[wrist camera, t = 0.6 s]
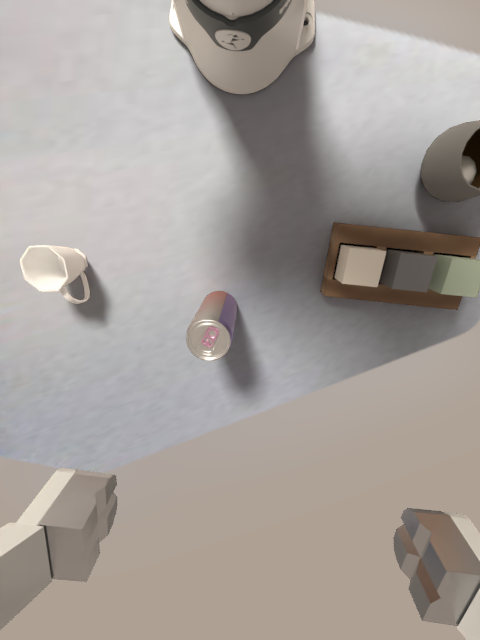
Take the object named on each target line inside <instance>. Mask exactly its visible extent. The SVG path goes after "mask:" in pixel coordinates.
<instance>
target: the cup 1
mask: <svg viewBox="0 0 480 640" xmlns="http://www.w3.org/2000/svg"><path fill="white" fill-rule="evenodd" d="M20 264H21V268H22V272H23V275H24V279H25V280H26V281H27V282H29V283H30V284H31V285H33V286H34V287H35V288H36V289H38V290H39V291H40V292H52V291H61V293H62V294H63V296H64V297H65V298H66V299H67V300H68V301H69V302H71V303H74V304H80V303H83V302H85V301H87V300H88V299H89V297H90V290H89V284H88V280H87V277H86V274H85V273H84V271H85V269H86V268H87V267H88V264H87V258H86V255H85V254H83V253H82V252H81V251H80V250H79V249H72V248H69V247H60V246H29V247H28V248H27V250H26V251H25V253H24V254H23V256H22V257H21V259H20ZM79 274H80V276H81V278H82V281H83V285H84V292H85V298H84V299H83V300H77V299H75V298H73V297H72V296H71V295H70V294H69V292H68V290H67V288H66V286H67V285H68V284H69V283H71V282H72V281H74V280H75V279H76V278H77V277H78V276H79Z"/></svg>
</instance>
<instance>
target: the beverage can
mask: <svg viewBox="0 0 480 640" xmlns="http://www.w3.org/2000/svg"><path fill="white" fill-rule="evenodd" d="M236 315H237V303H236V301H235V299H234V298H233V297H232V296H231V295H230V294H229V293H227V292H224V291H215V292H212V293H210V294H209V295H207V296H206V298H205V299H204V301H203V303H202V304H201V306H200V308H199V310H198V311H197V313H196V315H195V317H194V318H193V320H192V322H191V324H190V325H189V327H188V330H187V337H186V342H187V346H188V348H189V350H190V351H191V353H192V354H193V355H195V356H196V357H198V358H200V359H202V360H207V361H212V360H217V359H219V358H221V357H223V356H224V355H225V354H226V353H227V351H228V350H229V348H230V347H231V344H232V340H233V334H234V327H235V321H236Z"/></svg>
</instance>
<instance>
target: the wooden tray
mask: <svg viewBox="0 0 480 640" xmlns="http://www.w3.org/2000/svg"><path fill="white" fill-rule="evenodd" d="M340 243H349V244H359V245H368V246H369V248H376V249H379V250H383V251H386V248H387V247H388V248H397V249H407V250H414V251H413V252H416V253H423V254H428V255H432V256H433V253H434V252H436V253H446V254H455V255H458V256H457V257H465V258H471V259H475V258H476V255H477V252H478V249H479V247H480V238H478V237H469V236H459V235H449V234H440V233H430V232H420V231H411V230H401V229H391V228H381V227H372V226H362V225H352V224H343V223H333V228H332V233H331V239H330V244H329V249H328V254H327V260H326V265H325V270H324V276H323V281H322V286H321V293H322V294H323V295H324V296H330V297H339V298H349V299H358V300H368V301H378V302H387V303H397V304H406V305H416V306H426V307H435V308H445V309H454V310H458V307H459V304H460V301H461V298H462V296H456V295H447V294H440V293H438V292H435V291H433V290H430V289H428V291H427V292H418V291H408V290H398V289H391V288H389V287H387V286H385V285H383V284H382V283H380V281H379V283H378V287H370V286H360V285H350V284H342V283H341V282H339V281H338V280H337V279H335V278H334V277H333V274H334V269H335V264H336V259H337V254H338V249H339V244H340Z"/></svg>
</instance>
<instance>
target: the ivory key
mask: <svg viewBox="0 0 480 640" xmlns="http://www.w3.org/2000/svg"><path fill="white" fill-rule="evenodd" d="M386 252H387V251H383V250H379V249H376V248H368V247H358V246H349V245H341V247H340V252H339V257H338V262H337V267H336V272H335V277H334V278H335V279H337V280H338V281H339V282H341V283H342V284H350V285H360V286H370V287H378V283H379V279H380V275H381V271H382V267H383V264H384V260H385V256H386Z"/></svg>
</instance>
